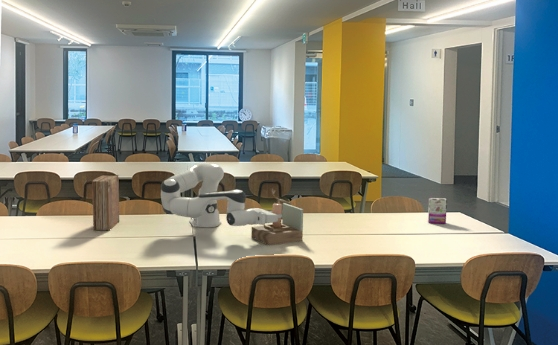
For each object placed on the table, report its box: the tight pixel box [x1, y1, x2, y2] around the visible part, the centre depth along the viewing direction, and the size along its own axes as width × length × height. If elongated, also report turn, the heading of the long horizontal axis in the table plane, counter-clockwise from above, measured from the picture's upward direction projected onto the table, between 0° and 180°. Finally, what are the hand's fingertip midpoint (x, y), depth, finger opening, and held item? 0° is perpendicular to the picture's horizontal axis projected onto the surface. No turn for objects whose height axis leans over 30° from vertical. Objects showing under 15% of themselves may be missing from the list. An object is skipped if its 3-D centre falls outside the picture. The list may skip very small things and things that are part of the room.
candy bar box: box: [427, 197, 448, 225], centre depth 362 cm, size 11×5×16 cm, turn 81°
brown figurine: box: [271, 187, 292, 221], centre depth 337 cm, size 11×13×25 cm
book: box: [91, 174, 120, 232], centre depth 333 cm, size 25×9×30 cm, turn 3°
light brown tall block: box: [272, 203, 282, 228], centre depth 311 cm, size 5×5×14 cm
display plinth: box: [250, 203, 304, 246], centre depth 312 cm, size 20×22×18 cm
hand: (276, 214), depth 311 cm, fingers open, 8 cm apart
